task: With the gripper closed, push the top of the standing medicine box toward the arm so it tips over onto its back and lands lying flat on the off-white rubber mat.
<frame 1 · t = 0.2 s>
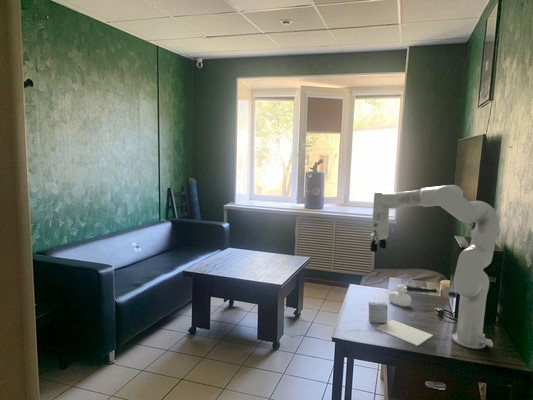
hand: (378, 249, 189), 31 cm above the table, fingers open, 9 cm apart
bust: (399, 304, 200), on the table
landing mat: (403, 332, 167), on the table
medicine box: (377, 321, 177), on the table, touching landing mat
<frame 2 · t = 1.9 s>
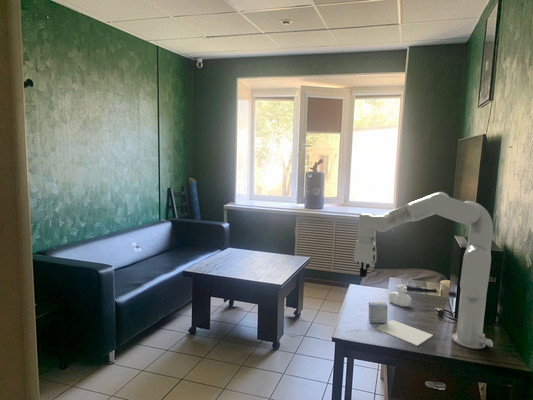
hand: (363, 276, 181), 20 cm above the table, fingers closed
nothing on the table moved.
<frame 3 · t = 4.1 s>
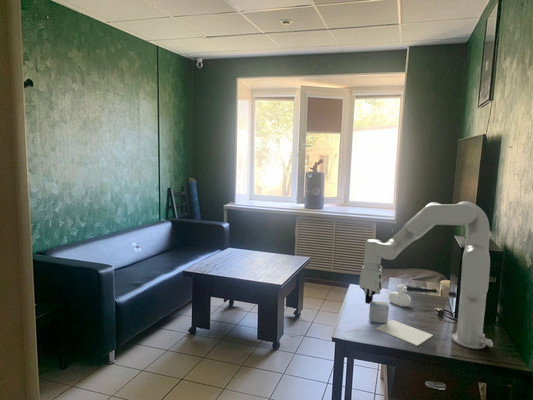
hand: (368, 302, 180), 8 cm above the table, fingers closed
medicine box: (377, 321, 177), on the table, touching gripper, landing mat
everything else where it was.
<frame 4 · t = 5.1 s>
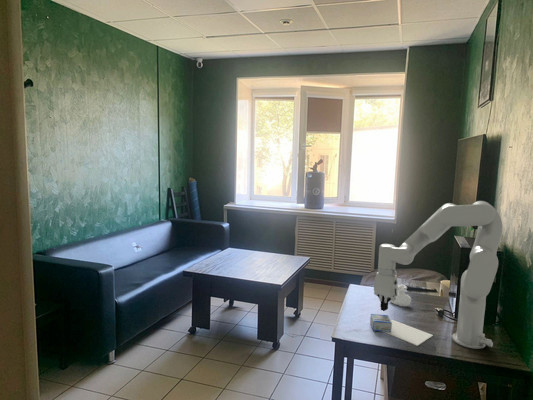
hand: (384, 309, 174), 7 cm above the table, fingers closed
medicine box: (378, 318, 175), point 3 cm above the table, touching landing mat
everything else where it was.
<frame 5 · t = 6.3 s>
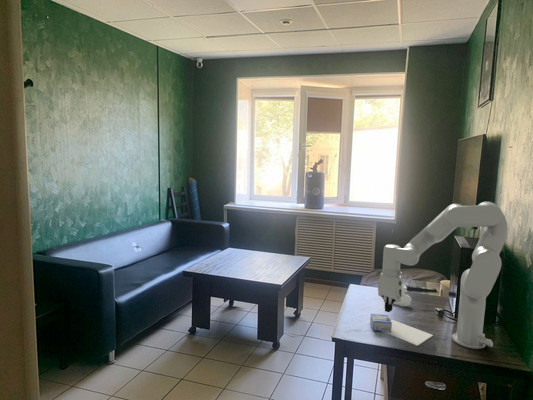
hand: (388, 310, 172), 7 cm above the table, fingers closed
nothing on the table moved.
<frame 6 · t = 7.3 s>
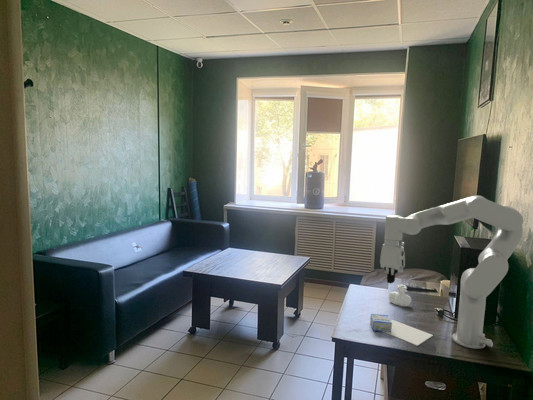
hand: (390, 282, 171), 21 cm above the table, fingers closed
nothing on the table moved.
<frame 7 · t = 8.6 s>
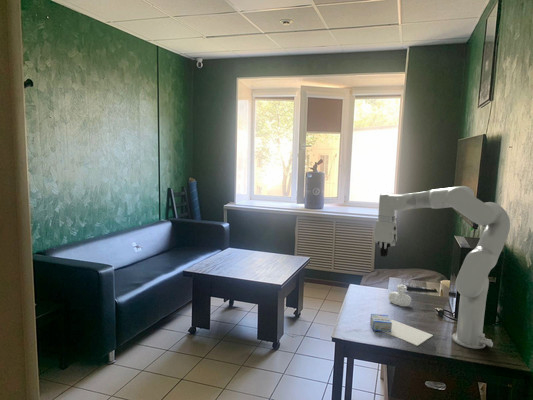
hand: (383, 255, 184), 29 cm above the table, fingers closed
nothing on the table moved.
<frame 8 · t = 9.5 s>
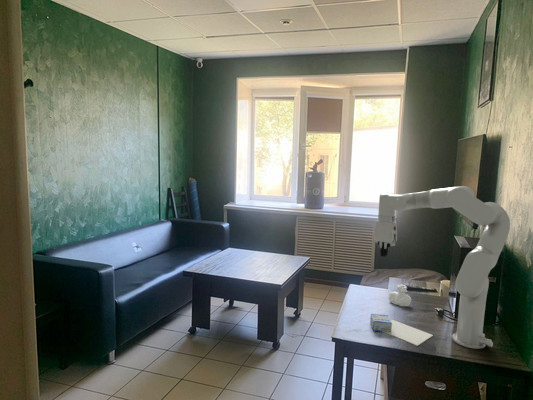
hand: (383, 255, 184), 29 cm above the table, fingers closed
nothing on the table moved.
at the end: medicine box tilted 89°; medicine box inside the target area (4.9 cm from its centre), point 2.5 cm above the table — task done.
